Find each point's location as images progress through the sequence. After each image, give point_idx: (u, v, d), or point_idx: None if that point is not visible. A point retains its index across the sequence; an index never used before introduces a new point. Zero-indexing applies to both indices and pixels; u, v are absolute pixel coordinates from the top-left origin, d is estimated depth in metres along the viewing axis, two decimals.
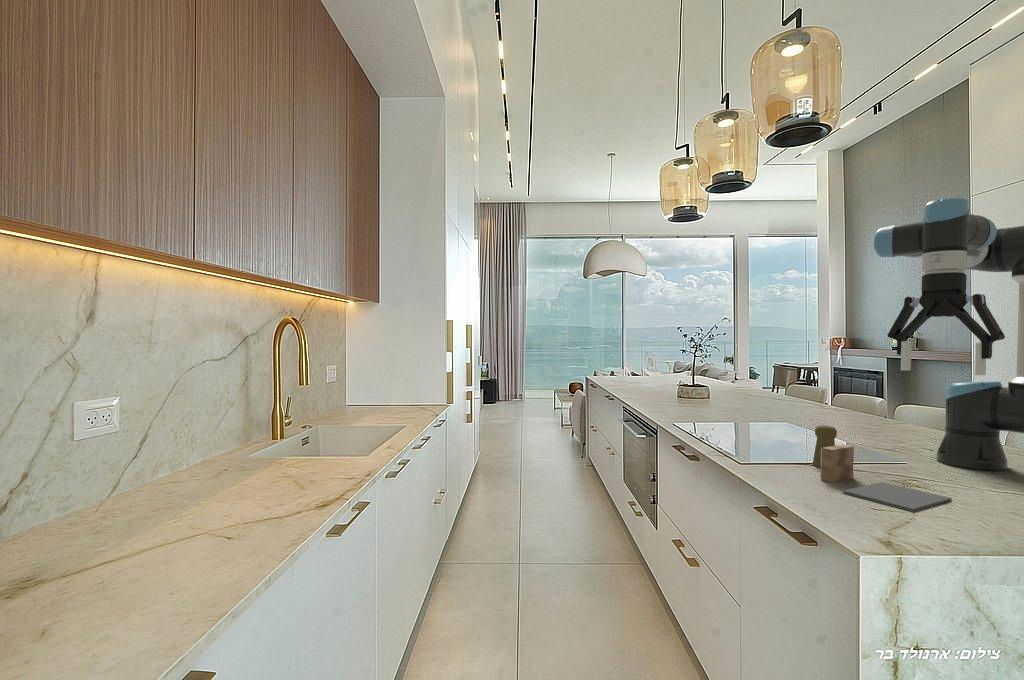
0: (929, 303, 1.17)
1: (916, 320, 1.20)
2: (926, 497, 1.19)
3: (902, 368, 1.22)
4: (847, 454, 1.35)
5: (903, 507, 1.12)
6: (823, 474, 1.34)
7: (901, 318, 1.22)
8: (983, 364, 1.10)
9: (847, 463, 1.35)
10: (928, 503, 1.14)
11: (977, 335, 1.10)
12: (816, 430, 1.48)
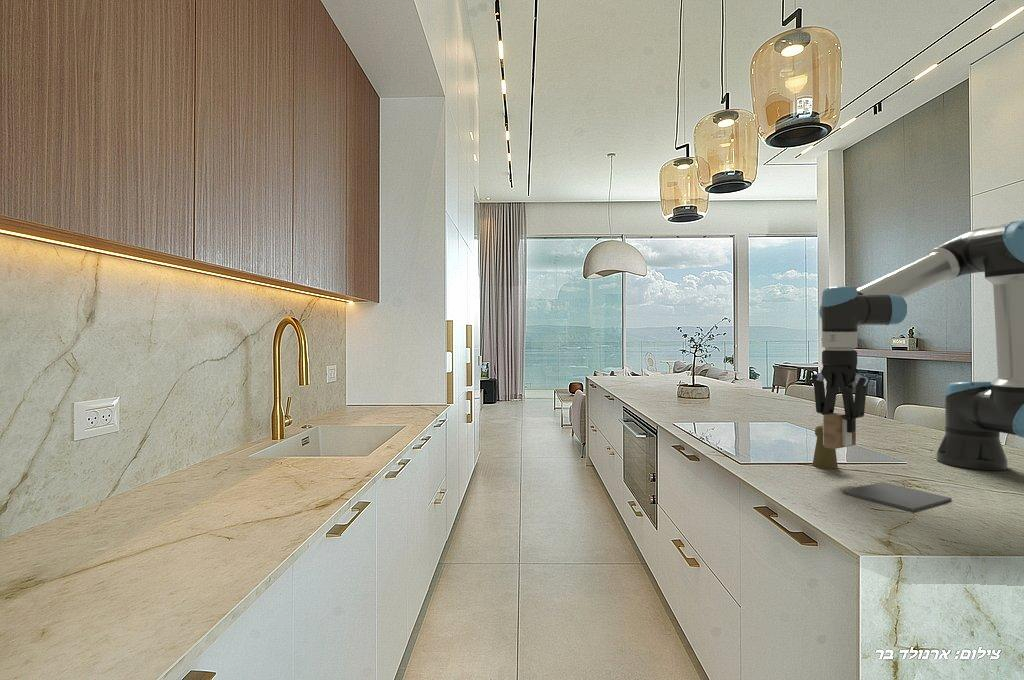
0: (828, 376, 1.35)
1: (828, 394, 1.36)
2: (926, 497, 1.19)
3: None
4: None
5: (903, 507, 1.12)
6: (826, 440, 1.33)
7: (817, 393, 1.39)
8: (849, 436, 1.33)
9: None
10: (928, 503, 1.14)
11: (845, 411, 1.33)
12: (816, 430, 1.48)
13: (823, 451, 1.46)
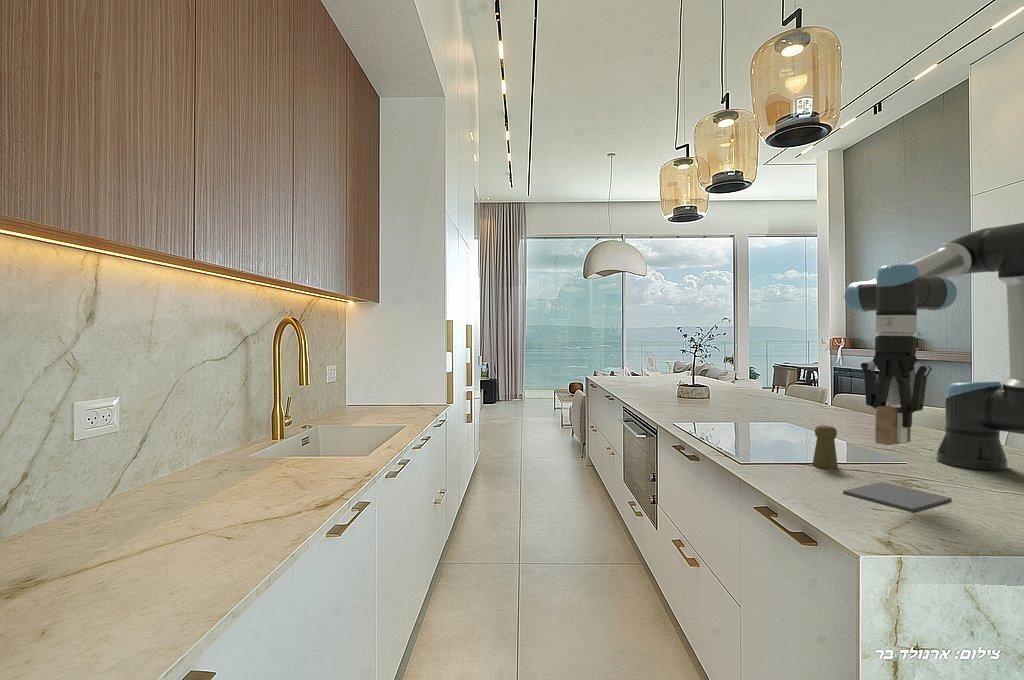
0: (882, 364, 1.22)
1: (881, 384, 1.22)
2: (926, 497, 1.19)
3: None
4: None
5: (903, 507, 1.12)
6: (878, 436, 1.20)
7: (868, 383, 1.25)
8: (904, 432, 1.20)
9: None
10: (928, 503, 1.14)
11: (901, 403, 1.19)
12: (816, 430, 1.48)
13: (823, 451, 1.46)
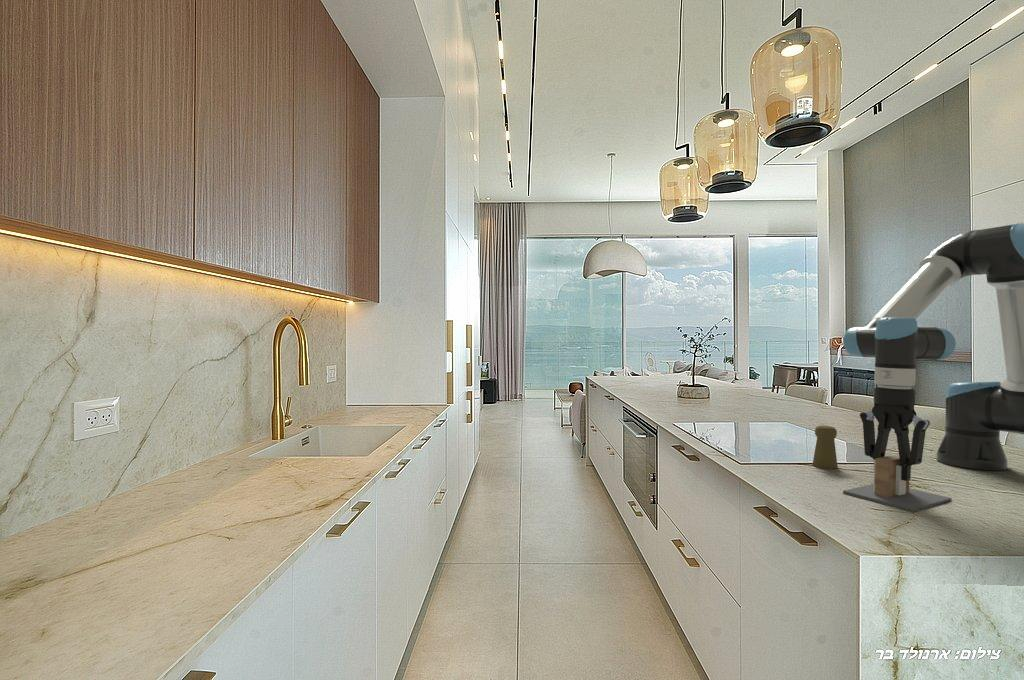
0: (881, 416, 1.22)
1: (880, 435, 1.22)
2: (926, 497, 1.19)
3: None
4: None
5: (903, 507, 1.12)
6: (877, 487, 1.20)
7: (867, 434, 1.25)
8: (903, 484, 1.20)
9: None
10: (928, 503, 1.14)
11: (900, 456, 1.19)
12: (816, 430, 1.48)
13: (823, 451, 1.46)
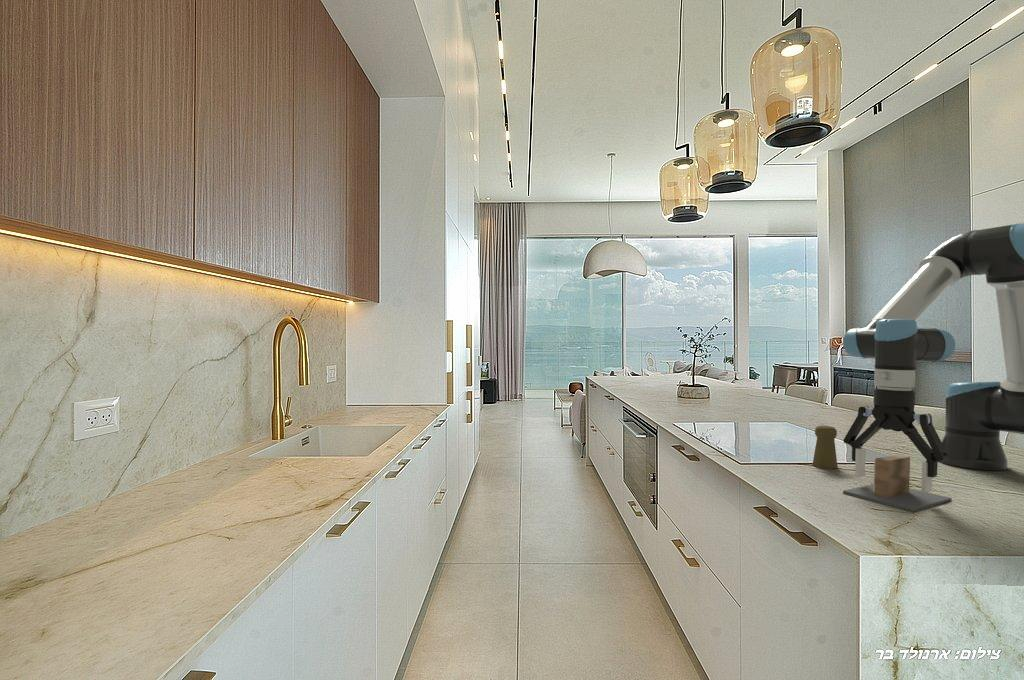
0: (880, 417, 1.22)
1: (869, 431, 1.25)
2: (926, 497, 1.19)
3: (856, 474, 1.27)
4: (903, 465, 1.21)
5: (903, 507, 1.12)
6: (877, 487, 1.20)
7: (855, 426, 1.27)
8: (929, 481, 1.15)
9: (903, 476, 1.21)
10: (928, 503, 1.14)
11: (923, 454, 1.15)
12: (816, 430, 1.48)
13: (823, 451, 1.46)
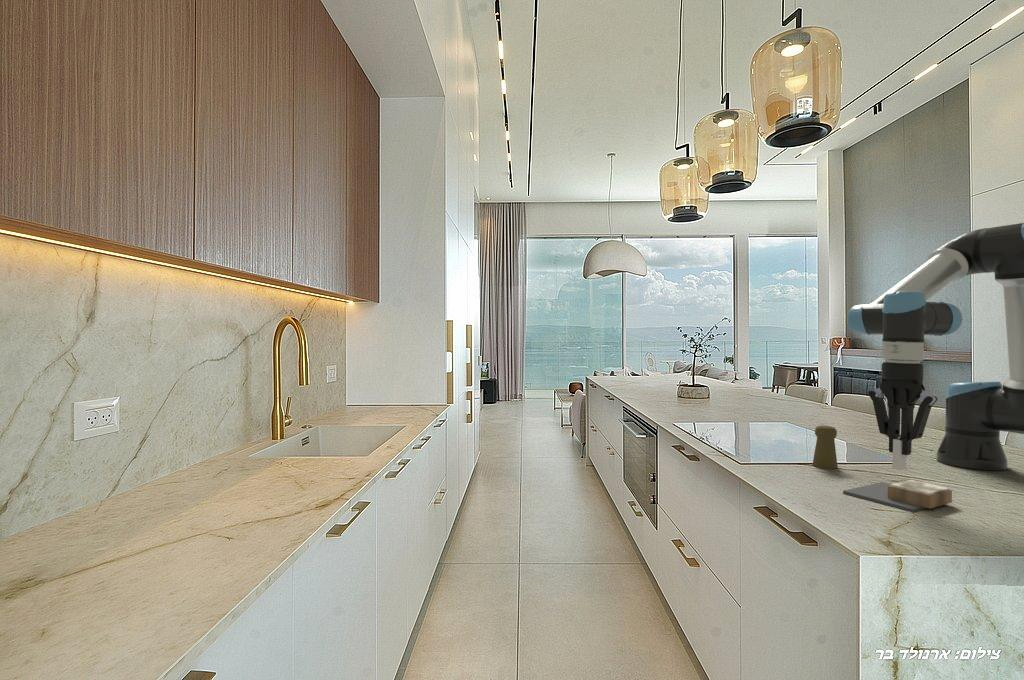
0: (889, 391, 1.20)
1: (891, 412, 1.20)
2: None
3: (894, 467, 1.20)
4: None
5: (903, 507, 1.12)
6: (896, 490, 1.17)
7: (879, 411, 1.23)
8: (904, 459, 1.20)
9: None
10: None
11: (902, 431, 1.19)
12: (816, 430, 1.48)
13: (823, 451, 1.46)
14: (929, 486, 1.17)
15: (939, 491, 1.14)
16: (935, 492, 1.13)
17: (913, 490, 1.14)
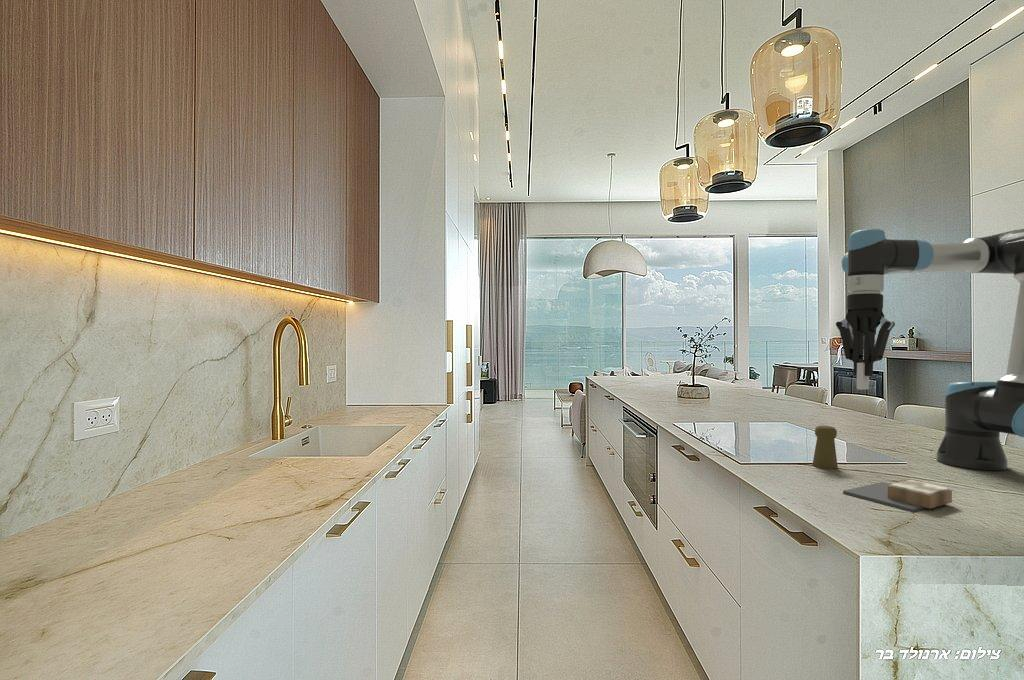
0: (853, 320, 1.35)
1: (856, 338, 1.35)
2: None
3: (858, 387, 1.34)
4: None
5: (903, 507, 1.12)
6: (896, 490, 1.17)
7: (845, 339, 1.37)
8: (866, 380, 1.34)
9: None
10: None
11: (864, 354, 1.33)
12: (816, 430, 1.48)
13: (823, 451, 1.46)
14: (929, 486, 1.17)
15: (939, 491, 1.14)
16: (935, 492, 1.13)
17: (913, 490, 1.14)
